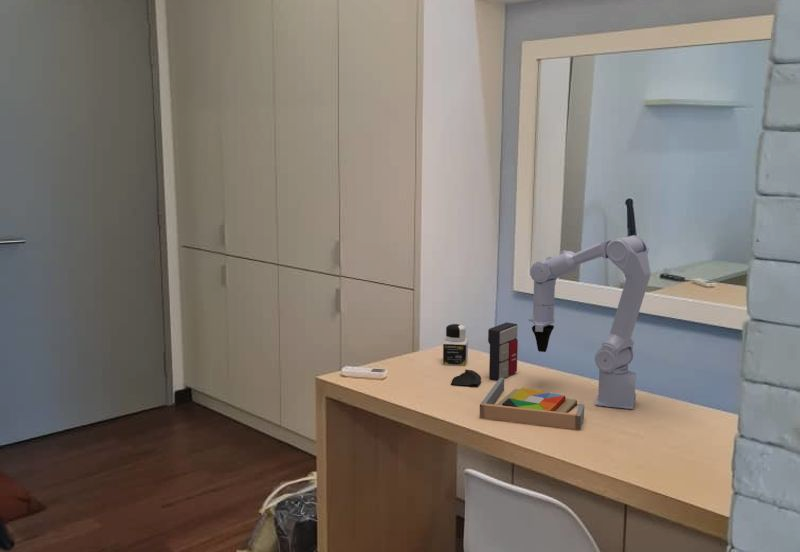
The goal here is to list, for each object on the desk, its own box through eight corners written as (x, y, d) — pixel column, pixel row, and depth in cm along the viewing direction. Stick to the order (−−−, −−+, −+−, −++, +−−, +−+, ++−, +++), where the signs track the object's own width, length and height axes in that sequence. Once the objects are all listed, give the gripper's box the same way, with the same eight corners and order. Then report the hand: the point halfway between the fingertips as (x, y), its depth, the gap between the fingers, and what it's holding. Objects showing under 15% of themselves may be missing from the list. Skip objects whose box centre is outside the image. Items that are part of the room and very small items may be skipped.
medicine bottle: (442, 365, 231) (443, 327, 229) (445, 358, 238) (445, 322, 236) (465, 366, 230) (466, 328, 228) (467, 359, 237) (468, 323, 235)
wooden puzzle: (487, 414, 189) (487, 401, 189) (517, 394, 205) (517, 381, 204) (552, 427, 180) (552, 414, 179) (578, 405, 196) (579, 392, 195)
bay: (589, 399, 199) (590, 386, 198) (579, 430, 177) (580, 416, 176) (499, 389, 207) (499, 377, 206) (479, 418, 185) (479, 404, 184)
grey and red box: (500, 381, 214) (501, 331, 212) (487, 379, 217) (488, 328, 214) (518, 372, 223) (519, 323, 220) (505, 370, 225) (506, 322, 223)
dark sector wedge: (486, 375, 221) (486, 370, 221) (478, 389, 209) (478, 384, 208) (459, 373, 224) (459, 368, 224) (449, 387, 211) (449, 381, 211)
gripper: (533, 298, 215) (532, 343, 217) (524, 307, 202) (523, 356, 204) (558, 299, 213) (556, 345, 215) (551, 309, 199) (549, 358, 202)
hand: (542, 351), depth 209 cm, fingers closed
